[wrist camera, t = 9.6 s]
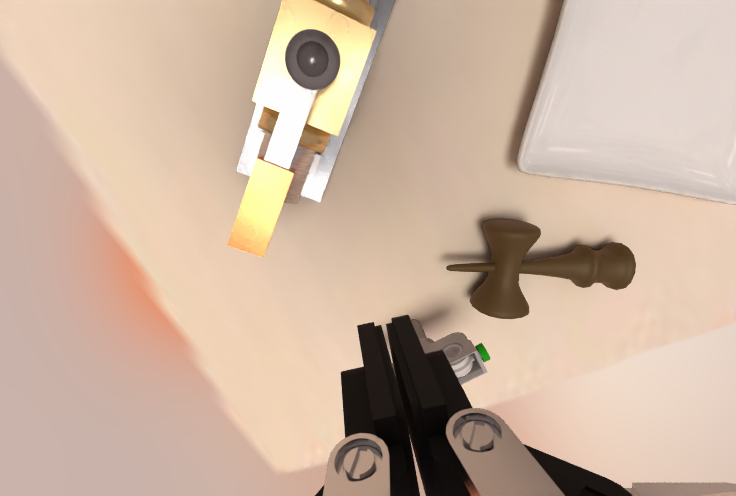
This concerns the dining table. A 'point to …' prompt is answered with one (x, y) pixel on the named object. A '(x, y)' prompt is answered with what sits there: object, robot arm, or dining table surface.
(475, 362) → the mechanical component
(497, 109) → the dining table surface
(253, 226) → the lever
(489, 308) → the kendama
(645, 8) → the square plate
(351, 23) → the ball valve
